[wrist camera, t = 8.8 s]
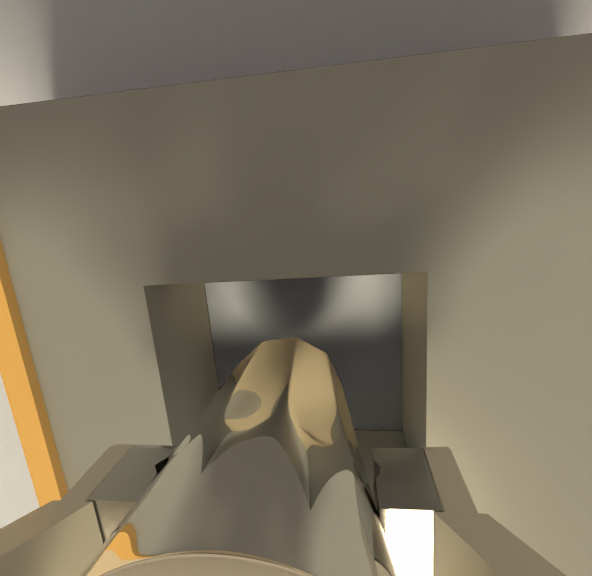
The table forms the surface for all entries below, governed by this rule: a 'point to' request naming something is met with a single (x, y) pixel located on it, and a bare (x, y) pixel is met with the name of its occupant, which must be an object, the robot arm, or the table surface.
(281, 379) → the milkshake
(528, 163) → the socket block
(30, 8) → the table surface
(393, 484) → the robot arm
